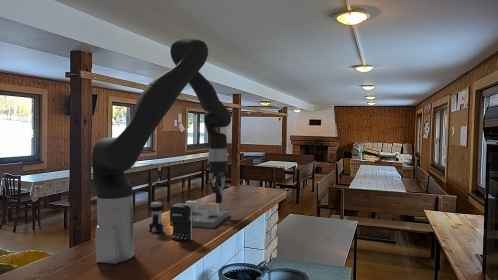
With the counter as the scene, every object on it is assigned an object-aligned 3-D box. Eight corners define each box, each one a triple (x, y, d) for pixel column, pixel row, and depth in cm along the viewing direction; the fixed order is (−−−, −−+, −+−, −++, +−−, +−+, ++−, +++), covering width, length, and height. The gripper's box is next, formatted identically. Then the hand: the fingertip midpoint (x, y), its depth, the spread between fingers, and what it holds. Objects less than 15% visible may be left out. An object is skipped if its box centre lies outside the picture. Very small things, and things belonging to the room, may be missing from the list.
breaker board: (213, 228, 127) (213, 210, 127) (169, 225, 131) (169, 207, 131) (228, 215, 144) (228, 199, 144) (189, 213, 148) (189, 198, 148)
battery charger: (168, 240, 113) (167, 204, 113) (175, 237, 117) (175, 202, 116) (186, 243, 110) (185, 206, 110) (193, 239, 114) (193, 204, 113)
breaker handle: (216, 215, 135) (216, 204, 134) (206, 215, 136) (206, 204, 135) (219, 214, 137) (218, 203, 137) (209, 213, 138) (208, 202, 138)
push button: (142, 232, 123) (141, 203, 122) (153, 228, 128) (152, 200, 127) (157, 234, 120) (156, 205, 119) (167, 230, 124) (167, 202, 124)
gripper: (221, 161, 134) (222, 207, 135) (232, 158, 147) (232, 199, 148) (203, 161, 136) (204, 206, 137) (215, 158, 149) (215, 199, 150)
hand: (219, 202), depth 143 cm, fingers closed
